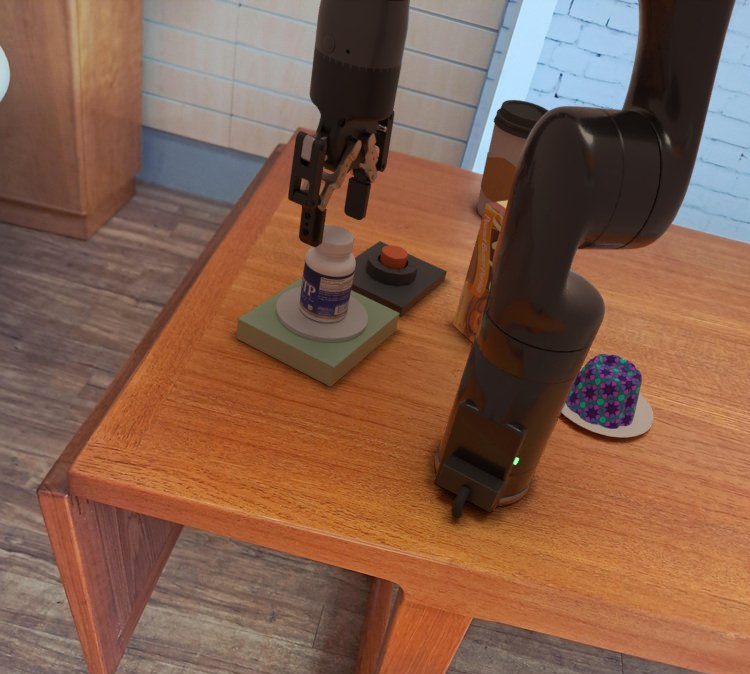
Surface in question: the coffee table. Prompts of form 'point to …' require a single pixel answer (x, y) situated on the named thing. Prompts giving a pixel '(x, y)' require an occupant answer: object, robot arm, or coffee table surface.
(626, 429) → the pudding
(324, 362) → the scale
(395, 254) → the button
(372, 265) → the block
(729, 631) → the coffee table surface
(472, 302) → the candy box
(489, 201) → the coffee cup
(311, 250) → the pill bottle
